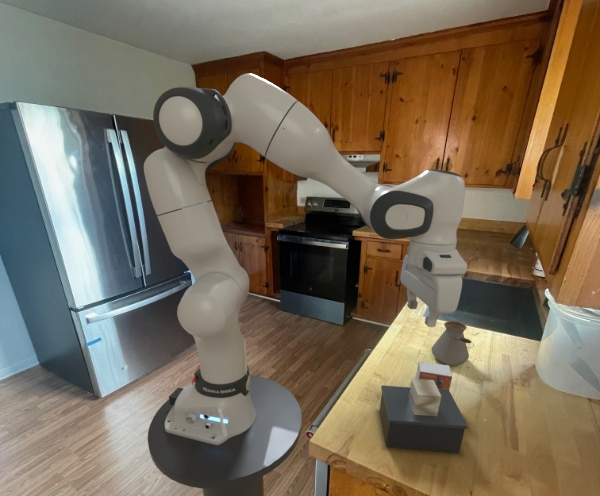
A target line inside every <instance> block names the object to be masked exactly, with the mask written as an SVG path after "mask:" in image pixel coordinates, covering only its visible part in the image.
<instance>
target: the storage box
mask: <svg viewBox="0 0 600 496" xmlns="http://www.w3.org/2000/svg"><path fill="white" fill-rule="evenodd" d="M380 389H381V397H380V404H379V417H380V421H381V422H380V423H381V427H382V432H383V437H384V438H383V439H384V443H385V447H386V448H392V449H406V450H415V451H416V450H417V451H427V452H441V453H449V454H450V453H451V454H459V453H460V450H461V447H462V442H463V440H464V435H465V432H466V430H468V428H469V425H468V423H467V422H466V420H465V418H464V416H463V414H462V412H461V410H460V408H459V406H458V404H457V402H456V400H455V398H454V396H453V394H452V393H451V391H450V389H449V390H440V389H438V390H439V392H440V394H441V400H440V405H439V410H438V414H437V416H424V415H414V413H413V410H412V407H411V404H410V401H409V392H410V387H409V386H395V385H384V384H383V385H381V386H380Z"/></svg>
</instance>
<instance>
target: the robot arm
mask: <svg viewBox="0 0 600 496" xmlns="http://www.w3.org/2000/svg"><path fill="white" fill-rule="evenodd" d="M152 113H153V114H152V116H153V117H152V118H153V119H152V121H153V126H154V130H155V132H156V134H157V137H158V138H159V140H160V141H161V143H162V144H163V145H164V146H163V148H159V149H157V150H155V151H153V152H152V153H150V154H149V155H148V156H147V157H146V159H145V160H144V163H143V172H144V173H143V174H144V178H145V182H146V186H147V191H148V194H149V197H150V201H151V203H152V207H153V209H154V212H155V214H156V216H157V219H158V221H159V225H160V226H161V229H162V232H163V234H164V236H165V238H166V241H167V243H168V246H169V248H170V251H171V253H172V255H174V256H175V257H176V258H177V259H179V260H181V261H182V263H184V264H185V266H186V267H187V269H188V270H189V272H190V273H191V274H192V276H193V278H194V281H195V282H194V283H192V284H191V285H190V286H189V287H188V288H187V289H186V290H185V291H184V293H183V295H182V297H181V299H180V301H179V303H178V305H177V309H176V314H177V319H178V322H179V324H180V327H182V328H183V329H184V330H185V331H186V332H187V333H188V334H190V335H191V336H192V337H193V339H194V343H195V346H196V349H197V354H198V363H199V364H198V365H197V369H196V370H195V371H194V373H193V377H192V378H191V380H190V382H191V383H188V385H186V386H185V387H183V388H182V387H177V388H176V389H175V390H174V391H173V392H172V393H170V395H169V396H168V399H169V401H170V405H174V406H173V407H172V409H171V410H170V412H169V413H168V415H167V417H166V420H165V431H166V432H168V433H171V434H175V435H179V436H183V437H186V438H190V439H194V440H198V441H202V442H206V443H209V444H213V445H220V444H222V443H223V442H225V441H226V440H227V439H229V438H231V437H233V436H236V435H239V434H241V433H243V432H244V431H246V430H247V429H249V428H250V427H251V426H252V424H253V423H254V421H255V418H256V411H255V408H254V406H253V403H252V400H251V396H250V391H249V390H250V375H251V374H250V368H249V365H248V357H247V355H248V354H247V340H246V338H245V336H243V333H242V331H241V326H240V320H239V318H240V317H239V316H240V311H241V308H242V306H243V304H244V303H245V301H247V298H248V296H249V292H250V277H249V275H248V272H247V271H246V270H245V269H244V267H242V266H241V264H240V263H239V262H238V259H237V257H236V256H235V254H234V252H233V250H232V249H231V247H230V245H229V243H228V240H227V238H226V237H225V234H224V231H223V228H222V226H221V223H220V221H219V218H218V214H217V211H216V209H215V206H214V202H213V200H212V198H211V195H210V191H209V189H208V187H207V183H206V176H205V174H206V171H210V170H211V169H213V168H214V167H215V166H217V165H218V164H219V163H222V161H224V160H225V159H227V158H228V157H229V156H230V155H231V154H232V152H234V150H235V148H236V145H237V143H241V144H245V145H247V146H249V147H250V148H251V149H253V150H255V151H256V152H257V153H259V154H260V155H261V156H263V157H264V158H266V159H267V160H268V161H270V162H271V163H273V164H274V165H276V166H277V167H279V168H281V169H283V170H284V171H286V172H288V173H291V174H293V175H295V176H298V177H301V178H305V179H309V180H313V181H316V182H319V183H321V184H323V185H325V186H327V187H328V188H330V189H331V190H332V191H334V192H335V193H336V194H338V195H339V196H340V197H342V198H343V199H344V200H346V201H347V202H349V203H350V204H351V205H352V206H353V207H354V208H355V209H356V210H357V213H358V214H359V216H360V218H361V220H362V222H363V223H364V224H365V225H366V227H368V228H369V229H370V230H372V231H373V232H374V233H375V234H376V235H377V236H378V237H380V238H383V239H385V240H390V241H391V240H400V239H407V238H409V245H408V252H407V254H405V256H404V257H403V260H402V265H401V269H400V276H399V279H400V280H399V281H400V284H401V285H403V286H404V287H405V289H406V297H407V304H406V305H407V308H409V310H417V308H418V304H419V303H418V300H417V299H419V300H420V301H421V302H423V304H425V305H426V306H427V307H428V312H429V313H428V315H427V316H425V319H424V324H425V325H426V326H427V327H428V328H435V327H436V326H437V322H438V319H439V318H440V317H441V316H442V315H451V314H453V313H455V312H456V310H457V308H458V306H459V302H460V298H461V293H462V289H463V278H462V275H465V274H466V273H467V271H468V264H467V262H466V261H465V260H464V258H463V257H462V256H461V254H460V253H459V250H458V249H457V242H458V238H457V232H458V228H459V225H460V223H461V221H462V218H463V210H464V205H465V195H466V186H465V185H466V182H465V179H464V178H463V177H462V175H461V174H458V173H456V172H453V171H449V170H444V169H438V168H428V169H425V170H423V171H422V172H421V173H420V174H419V175H417V176H415V177H413V178H412V179H410V180H408V181H405V182H403V183H400V184H398V185H395V186H392V185H390V184H383V183H379V182H375V181H373V180H372V179H370V178H369V177H367V176H366V175H365V174H364V173H363V172H361V171H360V170H358V168H356V167H355V166H353V164H351V163H349V162H348V160H346V159H345V158H344V157H343V155H342V154H341V153H340V152H339V151H338V149H337V147H336V145H335V143H334V142H333V140H332V138H331V137H332V136H331V135H330V133H329V131H328V129H327V128H326V127H325V125H324V124H323V123H322V122H321V121H320V119H319V118H318V117H317V116H316V115H315V114H314V113H313V112H312V111H311V110H310V109H309V108H308V107H307V106H305V105H304V104H303V103H301V102H300V101H299V100H298V99H296V98H295V97H294V96H292V95H291V94H290V93H288V92H287V91H285V90H283V89H282V88H280V87H279V86H277V85H276V84H274V83H272V82H270V81H268V80H267V79H265V78H262V77H260V76H258V75H256V74H254V73H244V74H241V75H240V76H238V77H237V78H236V79H235V80H234V81H232V83H231V84H230V85H229V87H228V89H227V90H226V92H225V94H223V95H222V94H221V93H220V92H219V91H218V90H217V89H214V88H203V87H192V86H177V87H173V88H169V89H167V90H165V91H164V92H162V94H161V95H159V97H158V98H157V100H156V102H155V104H154V108H153V111H152Z"/></svg>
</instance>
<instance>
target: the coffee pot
mask: <svg viewBox="0 0 600 496" xmlns="http://www.w3.org/2000/svg"><path fill="white" fill-rule="evenodd" d="M443 326H444V327H445V329H444V331H443V332H442V333H441V335H439V338H438V339H437V340H436V341H435V342H434V344H433V345H432V346H431V353H432V355H433V357H434V358H435V359H436V360H437V361H438V362H439V363H441V364H442V365H449V366H452V367H455V366H460V365H461V364H464V363H466V362H467V361H468V360H469V358H470V355H469V351H468V349H469V347H468V346H467V344H472V346H471V347H470V349H472V348H473V347H475V344H474V343H472V340H470V339H469V338H466V337H465V334H464V332H465V331H466V330H467V329H468V327H467V325H466V324H464V323H463V322H460V321H454V320H447V321H446V322H445V323H444V324H443Z"/></svg>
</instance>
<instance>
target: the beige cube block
mask: <svg viewBox="0 0 600 496" xmlns="http://www.w3.org/2000/svg"><path fill="white" fill-rule="evenodd" d="M440 400H441V394H440V392H439V390H438V388H437V386H436V384H435V382H434V380H424V379H416V378H411V381H410V392H409V401H410V404H411V407H412V410H413V413H414V415H424V416H437V414H438V410H439V405H440Z"/></svg>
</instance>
